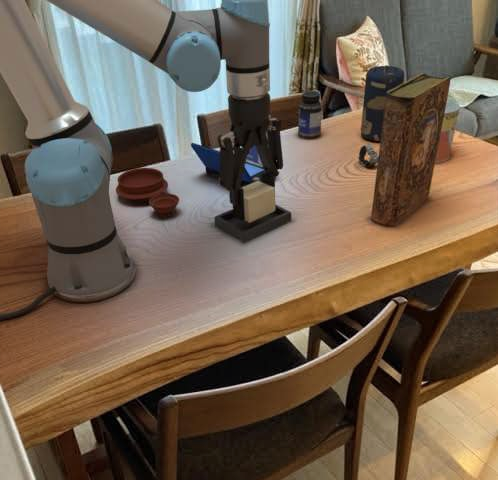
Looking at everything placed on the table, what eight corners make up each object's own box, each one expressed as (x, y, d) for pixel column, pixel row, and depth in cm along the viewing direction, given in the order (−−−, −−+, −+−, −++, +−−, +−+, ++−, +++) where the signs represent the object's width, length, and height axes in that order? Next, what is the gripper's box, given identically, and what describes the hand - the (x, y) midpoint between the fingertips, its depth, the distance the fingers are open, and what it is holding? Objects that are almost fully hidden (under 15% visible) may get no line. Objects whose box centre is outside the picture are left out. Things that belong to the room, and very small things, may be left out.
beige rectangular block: (249, 222, 106) (248, 199, 103) (233, 214, 109) (231, 191, 106) (275, 210, 109) (275, 188, 106) (259, 203, 112) (258, 180, 109)
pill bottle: (294, 133, 149) (295, 92, 142) (313, 129, 151) (315, 88, 144) (304, 141, 144) (306, 98, 137) (324, 137, 146) (327, 94, 139)
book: (392, 229, 107) (411, 99, 91) (367, 221, 110) (382, 93, 94) (428, 198, 117) (451, 76, 101) (405, 191, 120) (424, 71, 104)
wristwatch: (361, 171, 132) (372, 161, 127) (355, 152, 132) (366, 142, 128) (371, 170, 133) (383, 160, 128) (365, 151, 133) (376, 140, 129)
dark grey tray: (244, 243, 105) (244, 234, 104) (214, 225, 111) (214, 216, 110) (291, 220, 111) (291, 212, 110) (260, 205, 117) (260, 196, 116)
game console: (279, 177, 127) (279, 139, 121) (240, 198, 120) (238, 158, 114) (231, 161, 136) (229, 124, 130) (192, 179, 128) (188, 141, 122)
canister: (401, 134, 146) (411, 62, 135) (388, 146, 140) (398, 72, 128) (368, 128, 150) (375, 58, 139) (354, 139, 144) (360, 67, 133)
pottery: (154, 179, 129) (152, 162, 126) (197, 210, 116) (195, 191, 113) (109, 193, 124) (105, 175, 121) (148, 227, 111) (144, 208, 108)
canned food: (447, 166, 129) (458, 115, 122) (399, 160, 133) (407, 111, 125) (451, 148, 137) (461, 100, 130) (406, 143, 141) (414, 96, 133)
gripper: (217, 112, 88) (227, 235, 102) (304, 85, 97) (301, 201, 112) (190, 102, 92) (203, 221, 107) (275, 77, 102) (276, 189, 116)
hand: (253, 211), depth 109 cm, fingers closed on beige rectangular block, 7 cm apart
